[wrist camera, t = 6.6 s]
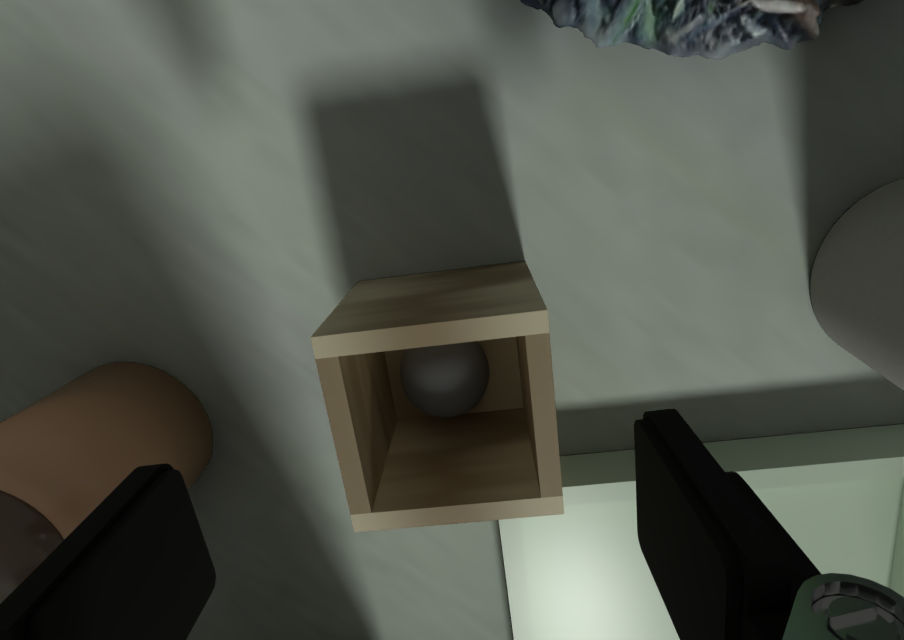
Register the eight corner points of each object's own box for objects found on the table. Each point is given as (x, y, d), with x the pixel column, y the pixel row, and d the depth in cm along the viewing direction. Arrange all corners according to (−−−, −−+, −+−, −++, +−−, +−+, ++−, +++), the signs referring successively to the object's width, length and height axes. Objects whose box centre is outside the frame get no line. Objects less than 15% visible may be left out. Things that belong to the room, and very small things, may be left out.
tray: (916, 422, 20) (962, 451, 18) (882, 662, 24) (917, 707, 22) (493, 462, 21) (495, 493, 20) (521, 685, 25) (525, 729, 23)
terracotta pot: (189, 354, 20) (47, 456, 14) (229, 487, 22) (121, 637, 15) (42, 370, 21) (-165, 478, 14) (93, 500, 23) (-69, 651, 16)
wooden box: (524, 260, 19) (547, 309, 13) (539, 412, 21) (564, 514, 15) (358, 281, 19) (310, 337, 14) (386, 428, 21) (354, 532, 15)
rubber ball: (487, 312, 19) (479, 343, 16) (496, 390, 20) (490, 432, 17) (404, 319, 19) (382, 350, 16) (417, 394, 20) (398, 436, 17)
